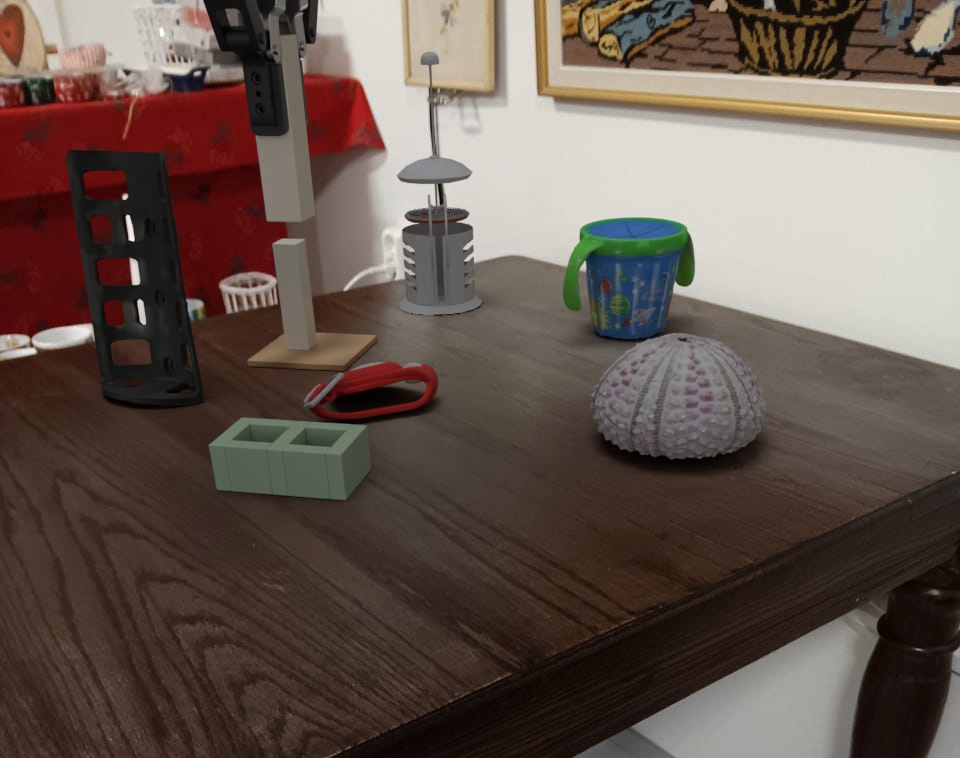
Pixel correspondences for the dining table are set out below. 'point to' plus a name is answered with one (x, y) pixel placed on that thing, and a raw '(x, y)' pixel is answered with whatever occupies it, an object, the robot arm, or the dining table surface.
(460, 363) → the dining table surface
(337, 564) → the dining table surface
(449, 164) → the french press
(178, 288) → the holder
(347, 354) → the coaster
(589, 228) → the snack cup
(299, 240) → the peg back
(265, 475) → the peg rack
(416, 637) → the dining table surface
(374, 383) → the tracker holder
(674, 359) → the sea urchin shell
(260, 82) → the robot arm
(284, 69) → the peg front
